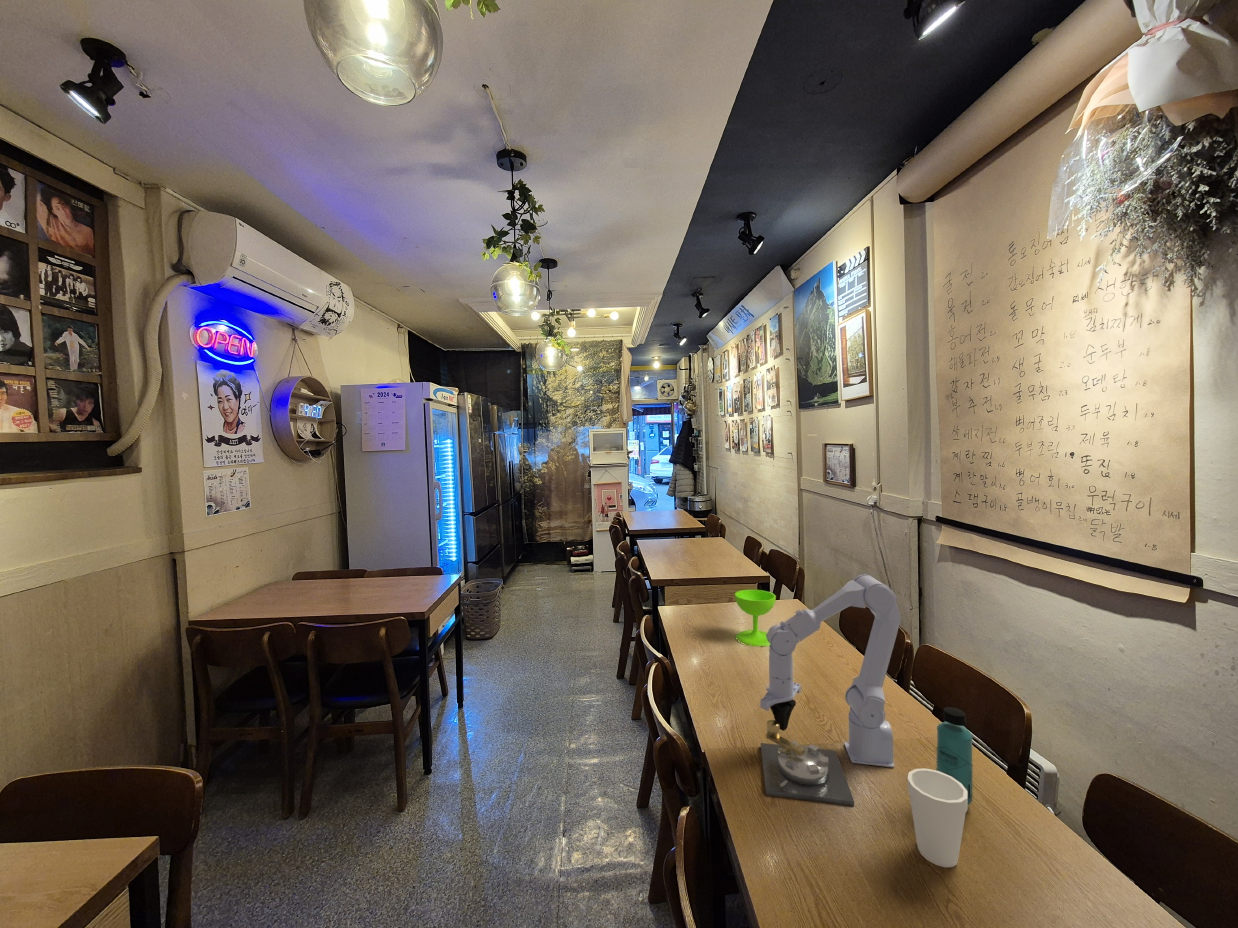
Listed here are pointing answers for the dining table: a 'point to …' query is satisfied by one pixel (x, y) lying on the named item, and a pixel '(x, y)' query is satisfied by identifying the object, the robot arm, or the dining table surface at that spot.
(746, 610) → the wineglass
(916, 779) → the foam cup
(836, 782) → the dark grey square plate
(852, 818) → the dining table surface
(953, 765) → the beverage bottle
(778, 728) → the metal round piece
